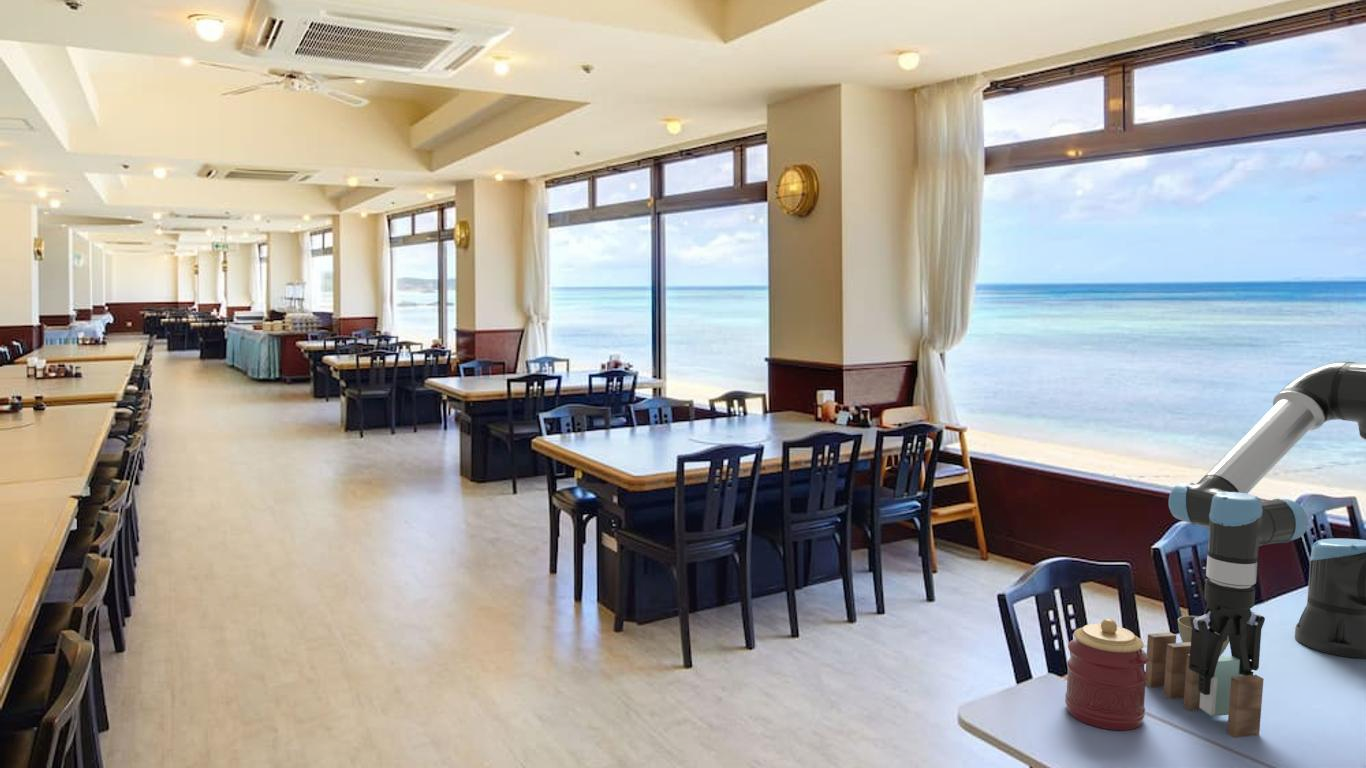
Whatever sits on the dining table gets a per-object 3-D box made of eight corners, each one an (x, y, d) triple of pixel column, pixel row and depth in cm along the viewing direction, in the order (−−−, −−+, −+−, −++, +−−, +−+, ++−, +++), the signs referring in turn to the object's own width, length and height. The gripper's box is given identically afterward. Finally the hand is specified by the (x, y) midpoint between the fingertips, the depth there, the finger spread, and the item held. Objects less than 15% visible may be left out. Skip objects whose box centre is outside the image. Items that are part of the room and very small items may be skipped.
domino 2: (1186, 692, 172) (1189, 641, 171) (1192, 696, 170) (1196, 645, 169) (1163, 695, 171) (1167, 643, 170) (1169, 698, 169) (1173, 647, 168)
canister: (1142, 738, 154) (1148, 638, 152) (1060, 720, 160) (1065, 623, 158) (1145, 708, 165) (1151, 614, 163) (1069, 692, 171) (1074, 602, 169)
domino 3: (1206, 704, 167) (1210, 652, 166) (1213, 708, 165) (1217, 655, 164) (1183, 707, 166) (1187, 654, 165) (1190, 710, 164) (1193, 657, 163)
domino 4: (1228, 710, 162) (1232, 656, 161) (1235, 714, 160) (1240, 659, 159) (1204, 712, 161) (1208, 658, 160) (1211, 716, 159) (1215, 661, 158)
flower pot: (1238, 668, 183) (1241, 634, 182) (1184, 664, 185) (1187, 630, 184) (1219, 649, 193) (1222, 617, 192) (1169, 645, 195) (1171, 613, 194)
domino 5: (1251, 730, 157) (1255, 674, 156) (1259, 734, 156) (1263, 678, 155) (1227, 732, 156) (1231, 677, 155) (1234, 737, 154) (1238, 681, 153)
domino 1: (1166, 681, 177) (1170, 632, 176) (1173, 685, 175) (1176, 635, 174) (1144, 683, 175) (1147, 634, 174) (1150, 687, 174) (1153, 637, 173)
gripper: (1255, 572, 164) (1246, 696, 166) (1170, 577, 160) (1161, 704, 162) (1291, 585, 156) (1281, 714, 159) (1202, 591, 153) (1193, 723, 155)
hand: (1220, 709), depth 160 cm, fingers closed on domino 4, 5 cm apart
